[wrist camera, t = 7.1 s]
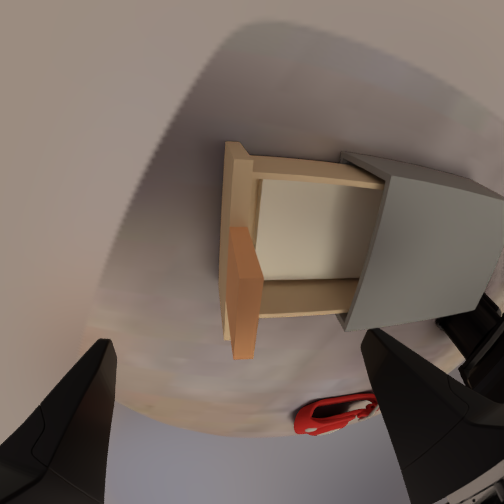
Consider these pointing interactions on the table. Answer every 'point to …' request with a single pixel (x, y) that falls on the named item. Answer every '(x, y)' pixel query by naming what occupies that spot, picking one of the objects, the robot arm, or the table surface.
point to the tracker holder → (330, 424)
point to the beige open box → (290, 239)
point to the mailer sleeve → (425, 246)
